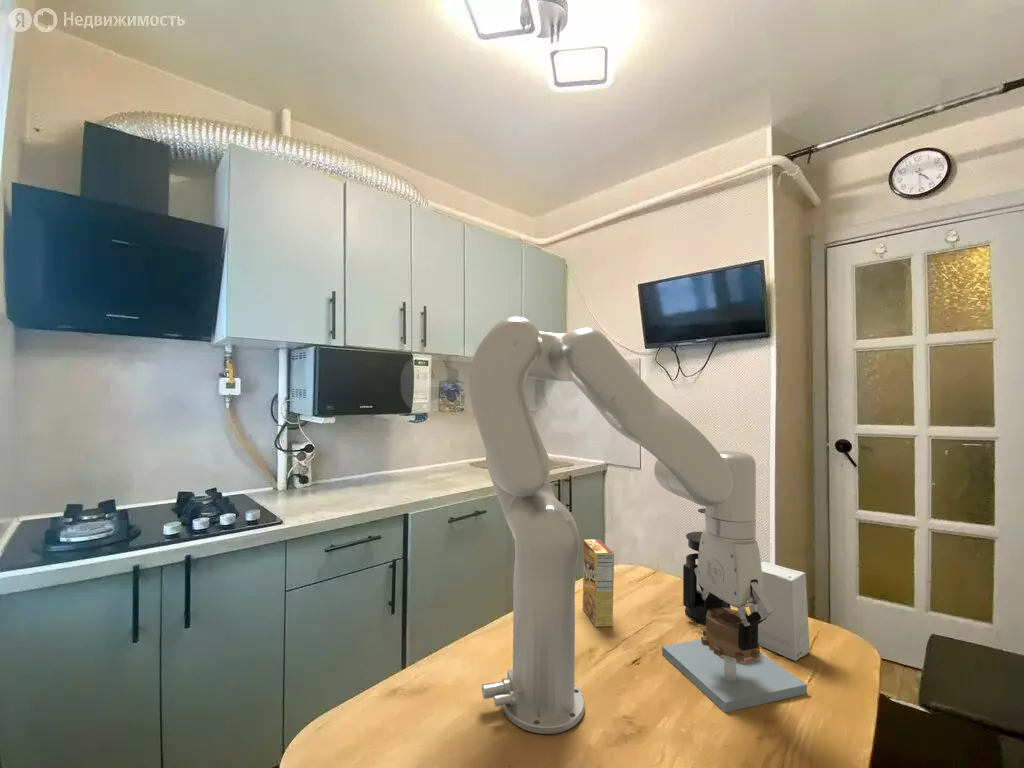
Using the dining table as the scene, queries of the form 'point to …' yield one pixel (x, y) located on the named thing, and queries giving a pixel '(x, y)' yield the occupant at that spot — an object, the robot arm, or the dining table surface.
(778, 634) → the skincare box
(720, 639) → the walnut gear
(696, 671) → the gear board
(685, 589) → the french press
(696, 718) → the dining table surface
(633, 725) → the dining table surface
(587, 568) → the candy box
